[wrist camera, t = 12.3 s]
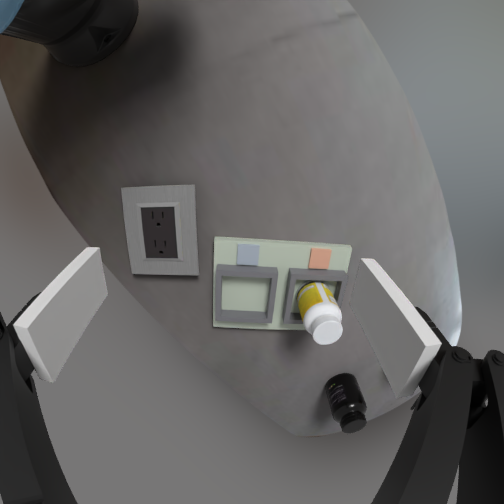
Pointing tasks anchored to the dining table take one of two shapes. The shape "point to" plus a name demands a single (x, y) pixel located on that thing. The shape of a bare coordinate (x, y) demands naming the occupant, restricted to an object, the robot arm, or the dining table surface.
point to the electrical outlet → (161, 229)
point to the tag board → (271, 280)
